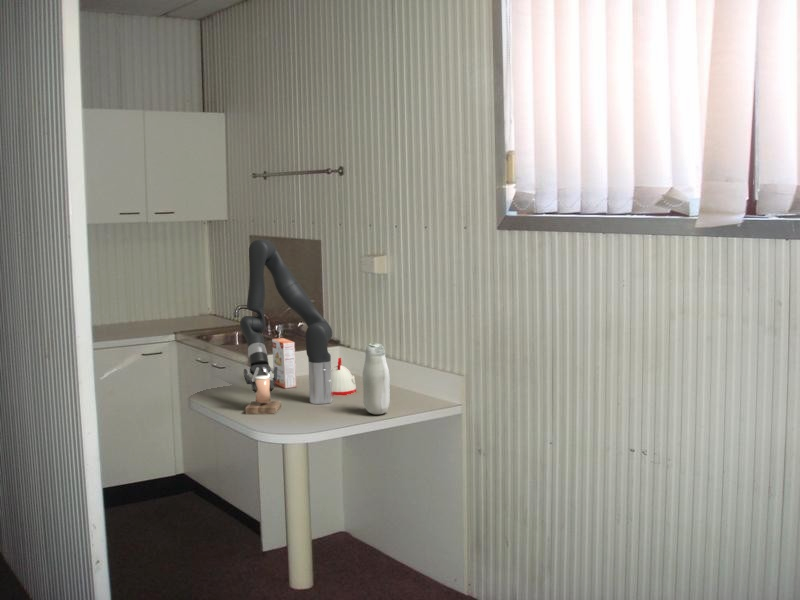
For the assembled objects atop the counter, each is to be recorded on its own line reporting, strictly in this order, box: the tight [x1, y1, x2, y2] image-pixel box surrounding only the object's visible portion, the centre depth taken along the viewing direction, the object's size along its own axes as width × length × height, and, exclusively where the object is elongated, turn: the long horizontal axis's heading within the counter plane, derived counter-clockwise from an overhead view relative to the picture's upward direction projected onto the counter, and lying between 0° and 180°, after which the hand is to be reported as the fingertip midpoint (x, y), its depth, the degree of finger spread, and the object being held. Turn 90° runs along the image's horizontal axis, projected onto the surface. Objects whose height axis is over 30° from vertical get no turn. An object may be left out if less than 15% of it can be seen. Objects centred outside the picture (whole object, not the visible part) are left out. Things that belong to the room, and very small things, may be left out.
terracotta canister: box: [255, 375, 272, 403], centre depth 369 cm, size 6×6×10 cm
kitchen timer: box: [331, 357, 357, 396], centre depth 402 cm, size 14×14×15 cm
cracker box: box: [271, 337, 297, 390], centre depth 418 cm, size 14×6×21 cm, turn 28°
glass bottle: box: [362, 342, 391, 416], centre depth 360 cm, size 10×10×28 cm
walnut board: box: [245, 400, 282, 415], centre depth 370 cm, size 12×12×2 cm
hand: (263, 390), depth 368 cm, fingers closed on terracotta canister, 5 cm apart
